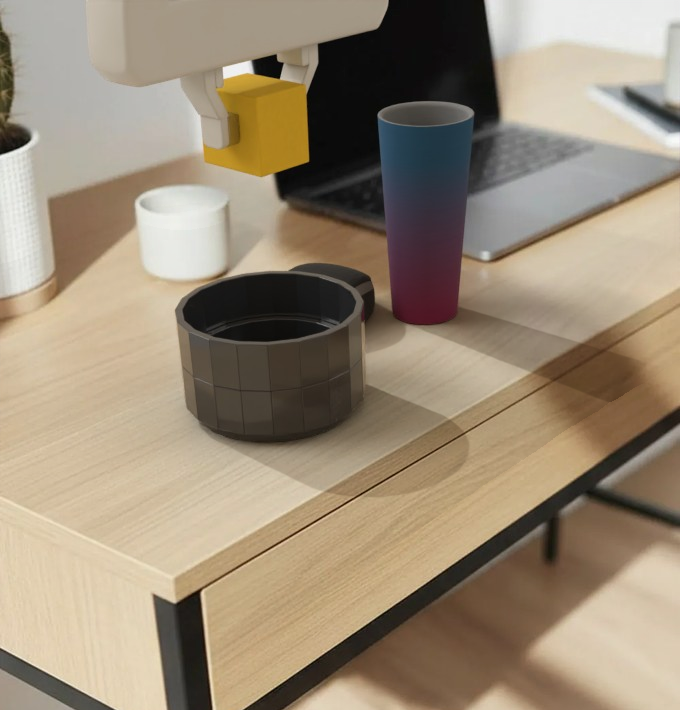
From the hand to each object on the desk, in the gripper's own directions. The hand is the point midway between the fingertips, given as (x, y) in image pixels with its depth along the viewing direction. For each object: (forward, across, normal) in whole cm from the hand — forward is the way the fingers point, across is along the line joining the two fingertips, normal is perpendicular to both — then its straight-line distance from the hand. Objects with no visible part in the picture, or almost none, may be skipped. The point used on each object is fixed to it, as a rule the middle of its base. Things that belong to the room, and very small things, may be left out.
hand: (256, 135), depth 71 cm
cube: (+2, 0, 0) cm, 2 cm away
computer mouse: (+18, +11, +7) cm, 22 cm away
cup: (+18, +18, +2) cm, 26 cm away
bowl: (+18, 0, 0) cm, 18 cm away
